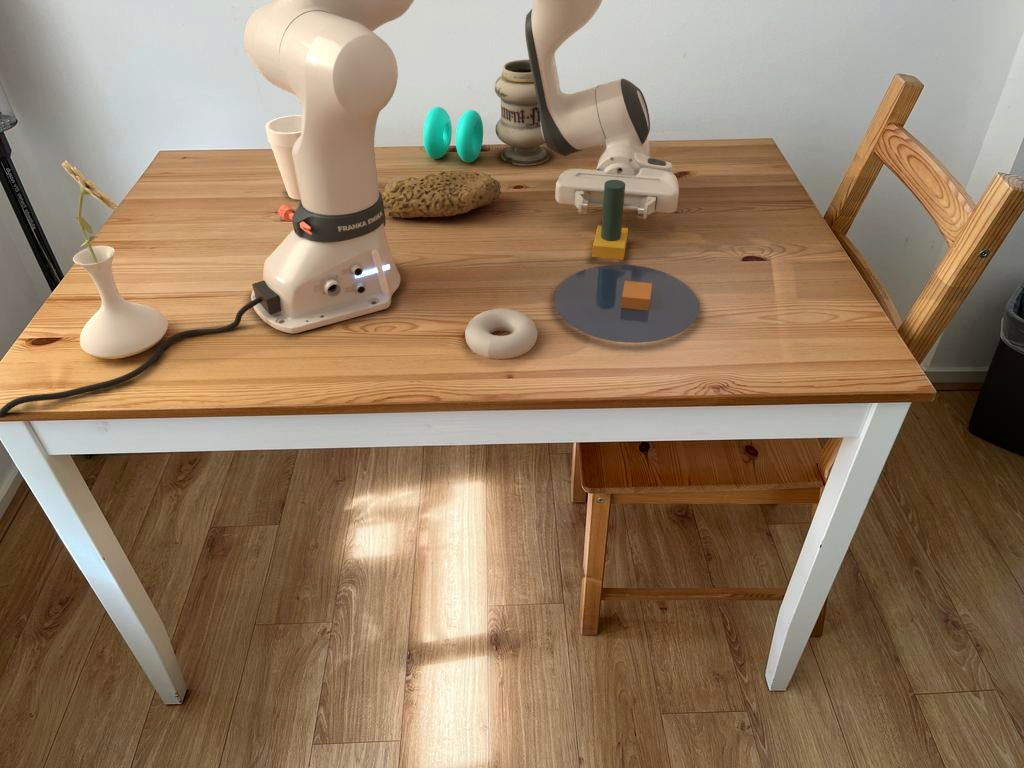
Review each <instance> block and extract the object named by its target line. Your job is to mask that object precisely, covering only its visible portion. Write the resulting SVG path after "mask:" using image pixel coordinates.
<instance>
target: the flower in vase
mask: <svg viewBox="0 0 1024 768" xmlns="http://www.w3.org/2000/svg"><path fill="white" fill-rule="evenodd" d="M61 166H62V167H63V169H64V170H65V171H66V172H67V174H68V175H69V176H70V177H71V178H72V179H74V181H75V182H76V183H77V184H79V185H80V186H79V190H80V195H79V200H78V211H77V215H78V216H76V220H77V222H78V225H79V227H80V230H81V233H82V235H83V238H84V242H83V243H82V244H81V245H80V248H81V247H84V246H86V245H87V247H85V248H84V249H81V250H79V251H77V252H76V254H74V256H72V261H73V263H75V264H76V265H78V266H79V267H81V268H82V269H84V270H85V272H86V273H88V275H89V276H90V278H91V280H92V281H93V283H94V284H95V287H96V289H97V291H98V293H99V296H100V301H101V305H100V308H99V309H98V311H96V312H95V313H94V314H93V315H92V316H91V318H89V320H88V321H87V322H86V323H85V325H84V327H83V328H82V330H81V332H80V335H79V345H80V347H81V349H82V350H83V351H84V352H85V353H87V354H89V355H91V356H93V357H95V358H99V359H106V360H109V359H110V360H111V359H113V360H115V359H122V358H127V357H128V358H129V357H131V356H135V355H138V354H141V353H143V352H146V351H147V350H150V349H151V348H153V347H154V346H155V345H157V344H158V343H159V342H160V341H161V340H162V339H163V338H164V337H165V335H166V333H167V330H168V327H169V321H168V319H167V317H166V316H165V315H164V314H163V313H162V312H161V311H160V310H159V309H157V308H154V307H151V306H149V305H146V304H142V303H137V302H132V301H129V300H126V299H124V298H123V297H122V295H121V294H120V292H119V290H118V287H117V285H116V282H115V277H114V274H113V260H114V257H115V255H116V250H115V248H114V247H112V246H109V245H95V246H94V245H93V246H92V245H91V242H92V241H93V240H95V239H96V238H98V237H99V236H100V235H98V234H97V235H90V236H89V238H88V236H87V233H89V234H93V233H94V229H93V227H92V225H90V224H89V222H88V221H86V219H85V218H84V217H83V216H82V211H83V209H82V208H83V202H84V196H88V195H89V196H90V195H91V196H92V197H94V199H96V201H98V202H99V203H101V204H102V205H103V206H104V207H106V208H107V209H109V210H112V211H115V210H117V208H118V207H119V206H118V204H116V203H115V202H113V201H112V198H111V196H109V195H108V194H106V193H104V192H103V191H101V190H99V189H97V184H96V183H95V182H93V180H91V179H88V180H87V179H86V177H85V176H84V175H83V173H82V172H81V171H80V170H79V169H78V167H76V166H73V165H71V163H70V162H69V161H68V160H64V161H63V162H62V163H61ZM86 232H87V233H86Z"/></svg>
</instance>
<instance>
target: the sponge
mask: <svg viewBox="0 0 1024 768" xmlns="http://www.w3.org/2000/svg"><path fill="white" fill-rule="evenodd" d="M501 188H502V185H501V182H500V181H499V180H497V179H495V178H494V177H491V175H490V174H488V173H484V172H477V171H467V170H461V171H458V170H448V171H443V170H442V171H439V172H436V173H430V174H428V175H425V176H424V177H419V178H417V177H415V176H411V177H407V178H405V179H400V180H394V181H389V182H388V183H387V184H386V185H385V186H384V192H383V193H381V194H382V198H383V204H384V210H385V215H387V216H388V217H393V218H403V219H404V218H406V219H407V218H408V219H412V218H421V217H422V218H430V217H431V218H440V217H441V218H442V217H455V216H456V215H461V214H466V213H469V212H470V211H473V210H475V209H478V208H481V207H485V206H487V205H490V204H491V203H492V202H494V201H496V200H497V199H498V198H499V197H500V195H502V191H501Z"/></svg>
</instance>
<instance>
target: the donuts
mask: <svg viewBox="0 0 1024 768" xmlns="http://www.w3.org/2000/svg"><path fill="white" fill-rule="evenodd" d="M452 135H453V126H452V120H451V117H450V115H449V113H448V111H447V110H445V108H443V107H441V106H434V107H432V108H431V109H430V110H429V111H428V112H427V114H426V116H425V120H424V124H423V131H422V141H423V147H424V150H425V153H426V154H427V155H428V156H429V158H431V159H434V160H439V159H442V158H443V157H444V156H445V155H446V154H447V153H448V151H449V149H450V146H451V143H452V138H453V137H452ZM483 140H484V123H483V119H482V116H481V114H480V113H479V112H478V111H476V110H474V109H468V110H466V111H464V112H463V114H461V116H460V117H459V119H458V122H457V125H456V130H455V148H456V153H457V155H458V156H459V158H460V159H461V161H463V162H464V163H473V162H475V161H476V160H477V159H478V158H479V156H480V153H481V151H482V147H483Z"/></svg>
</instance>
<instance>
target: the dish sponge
mask: <svg viewBox="0 0 1024 768" xmlns="http://www.w3.org/2000/svg"><path fill="white" fill-rule="evenodd" d="M624 195H625V183H624V182H623V181H620V180H609V181H606V182H605V184H604V199H603V208H602V214H601V225H597V228H596V232H595V236H594V238H593V244H592V250H591V251H592V253H591V257H592V258H597V259H598V258H600V259H609V260H620V261H623V260H625V259H624V258H625V253H626V248H627V243H628V237H629V236H628V234H629V228H628V227H622V226H623V215H624V209H623V206H624Z"/></svg>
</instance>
